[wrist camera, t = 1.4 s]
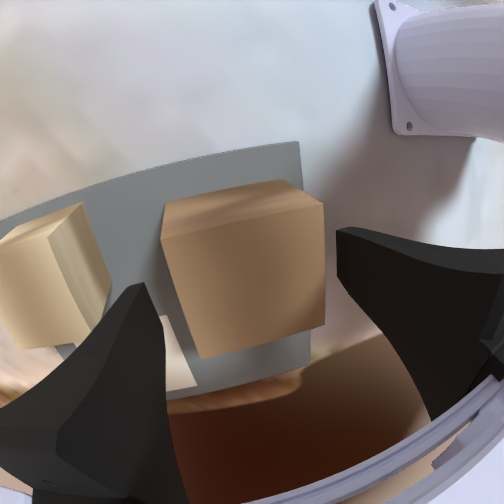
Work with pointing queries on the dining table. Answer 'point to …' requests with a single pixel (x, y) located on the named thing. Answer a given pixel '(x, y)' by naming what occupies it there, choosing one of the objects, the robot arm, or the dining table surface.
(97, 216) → the mat
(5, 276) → the beech brick
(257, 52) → the dining table surface
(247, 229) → the walnut brick
